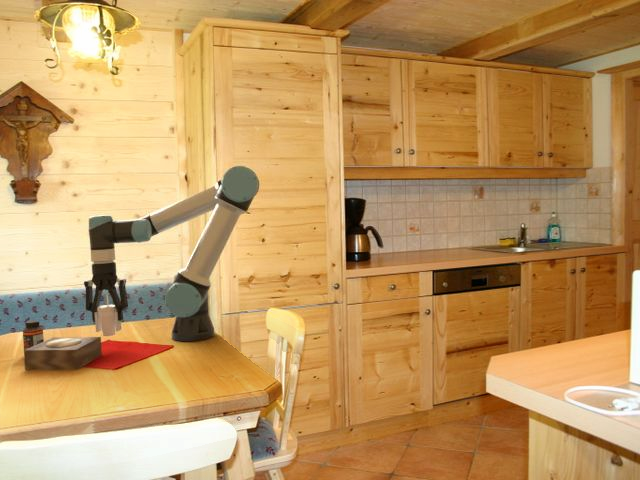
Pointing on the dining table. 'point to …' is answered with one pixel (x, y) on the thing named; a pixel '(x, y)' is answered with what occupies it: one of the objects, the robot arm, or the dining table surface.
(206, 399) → the dining table surface
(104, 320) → the white drink cup
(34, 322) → the supplement bottle
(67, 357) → the stand
